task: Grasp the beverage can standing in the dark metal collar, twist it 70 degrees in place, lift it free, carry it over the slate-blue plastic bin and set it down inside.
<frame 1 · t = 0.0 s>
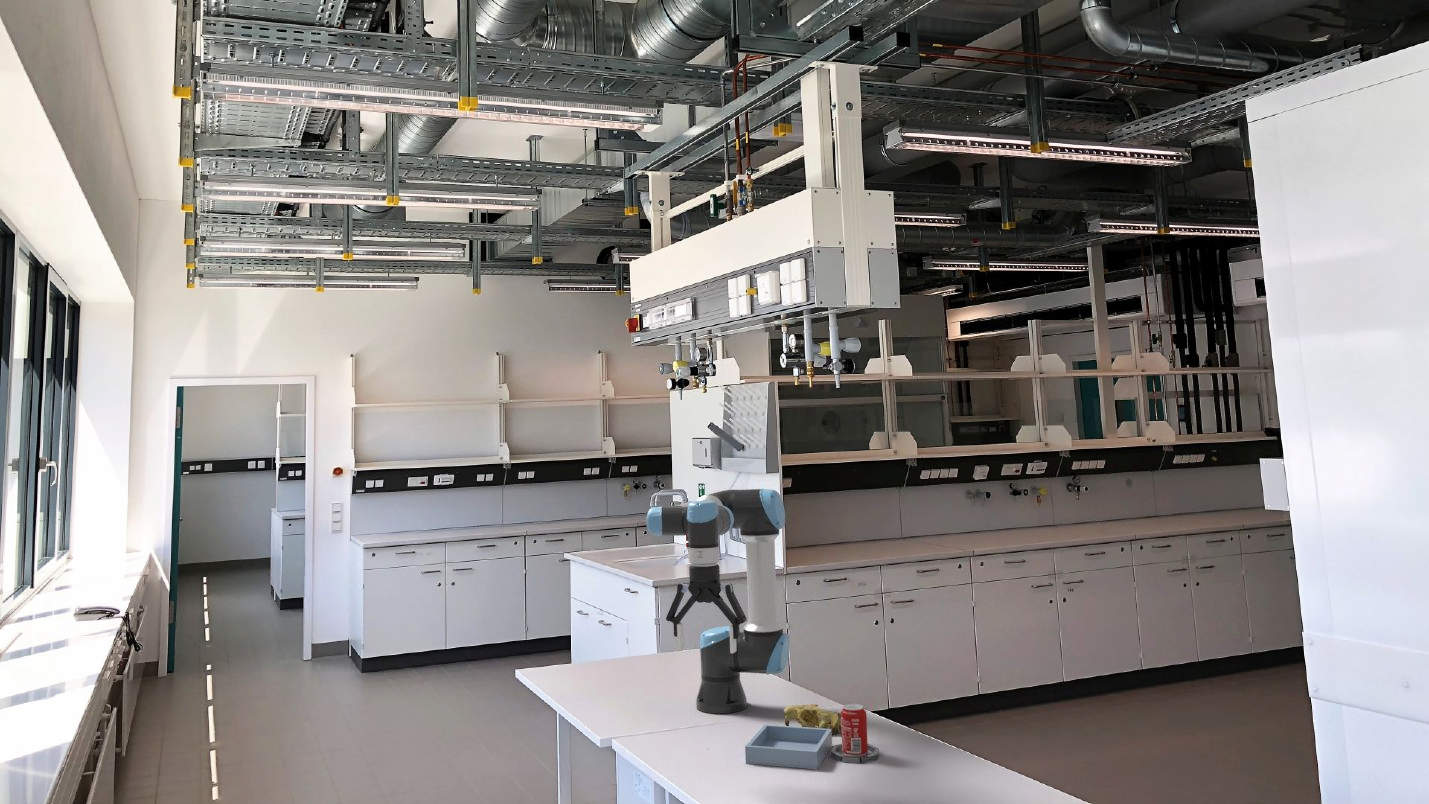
hand: (707, 651, 228), 28 cm above the worktop, fingers open, 13 cm apart
bin: (790, 754, 234), on the worktop
beverage can: (855, 755, 232), resting in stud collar
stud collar: (855, 754, 232), on the worktop
animal skull: (815, 730, 254), on the worktop
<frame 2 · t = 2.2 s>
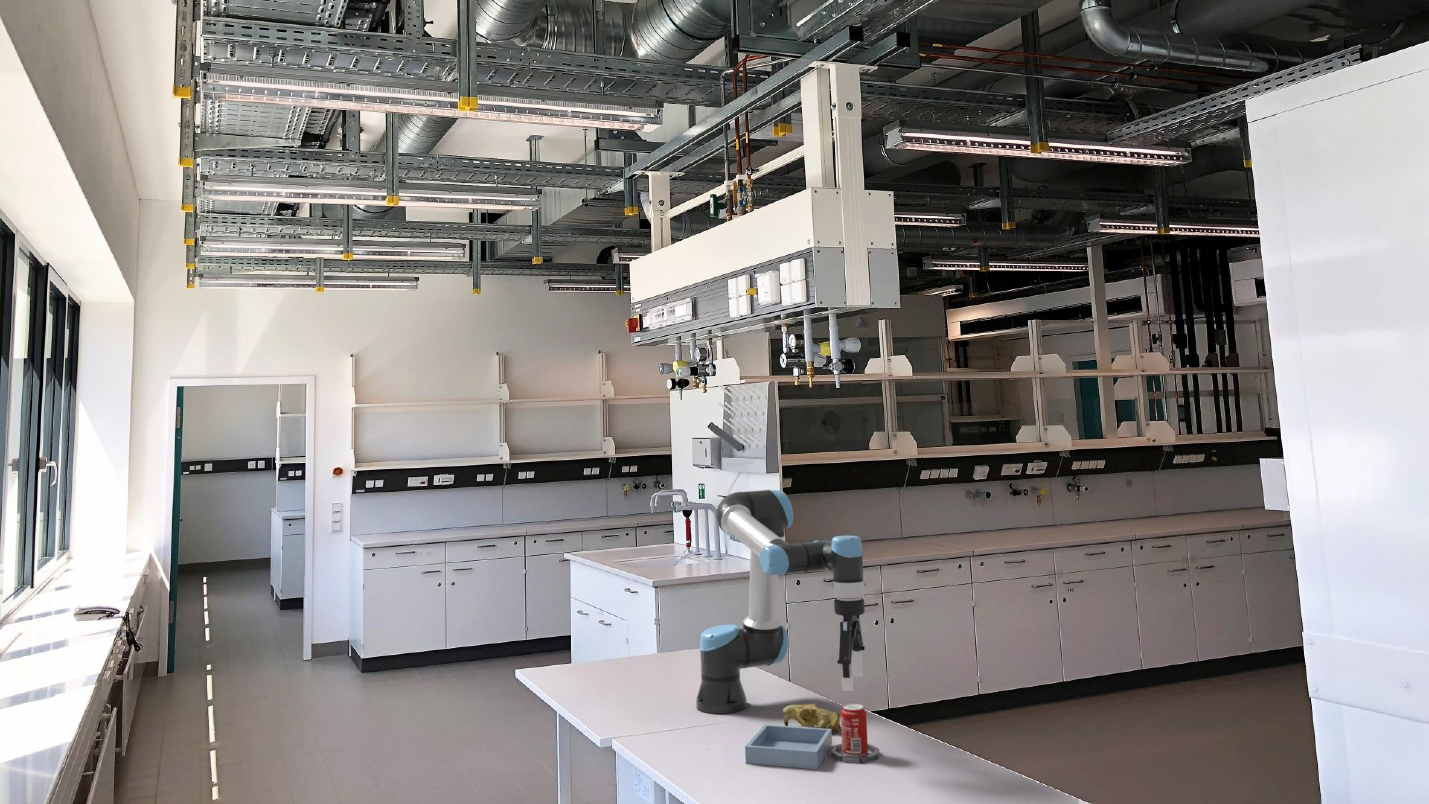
hand: (852, 683, 233), 18 cm above the worktop, fingers open, 13 cm apart
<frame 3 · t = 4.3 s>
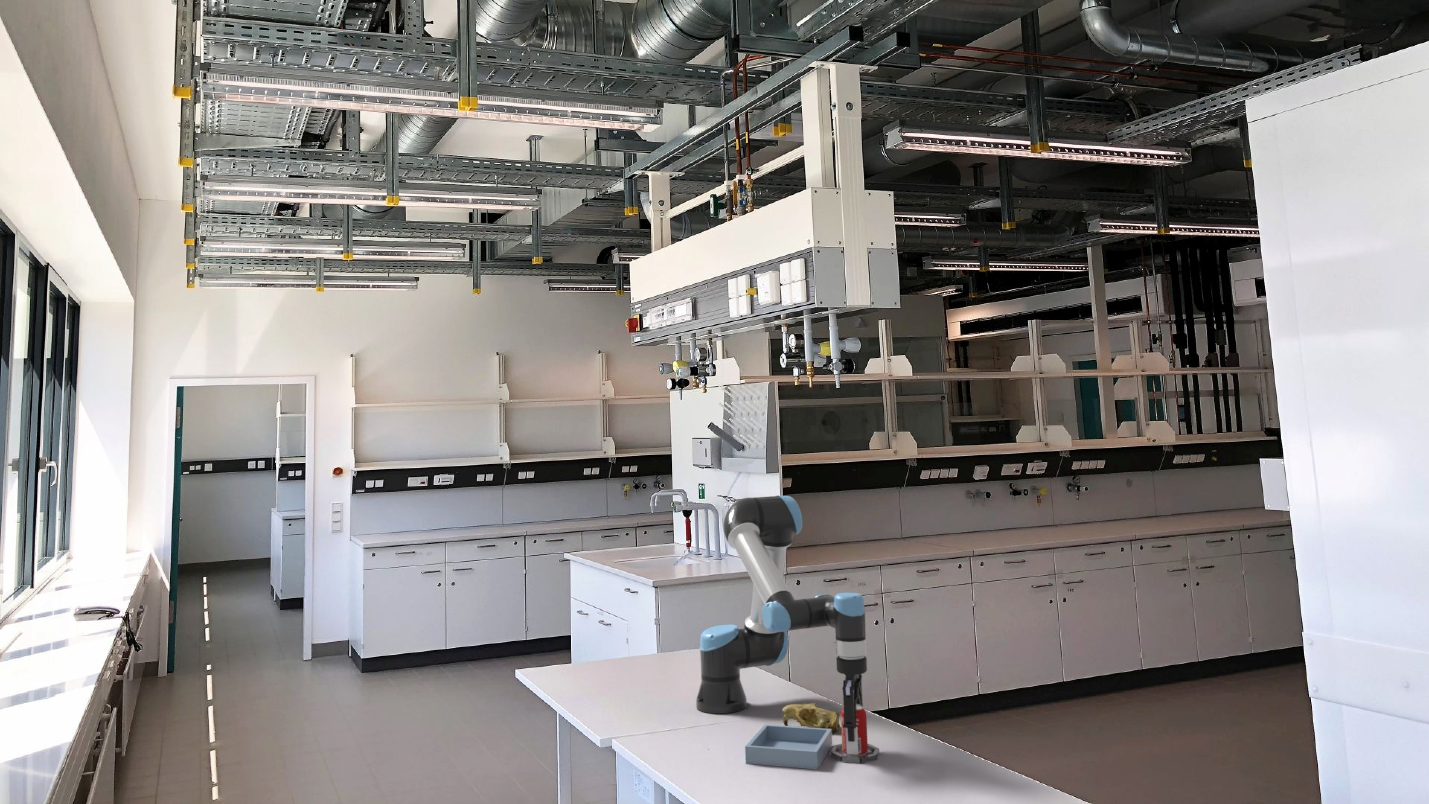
hand: (855, 749, 232), 1 cm above the worktop, fingers closed on beverage can, 6 cm apart
beverage can: (855, 755, 232), resting in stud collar, touching gripper
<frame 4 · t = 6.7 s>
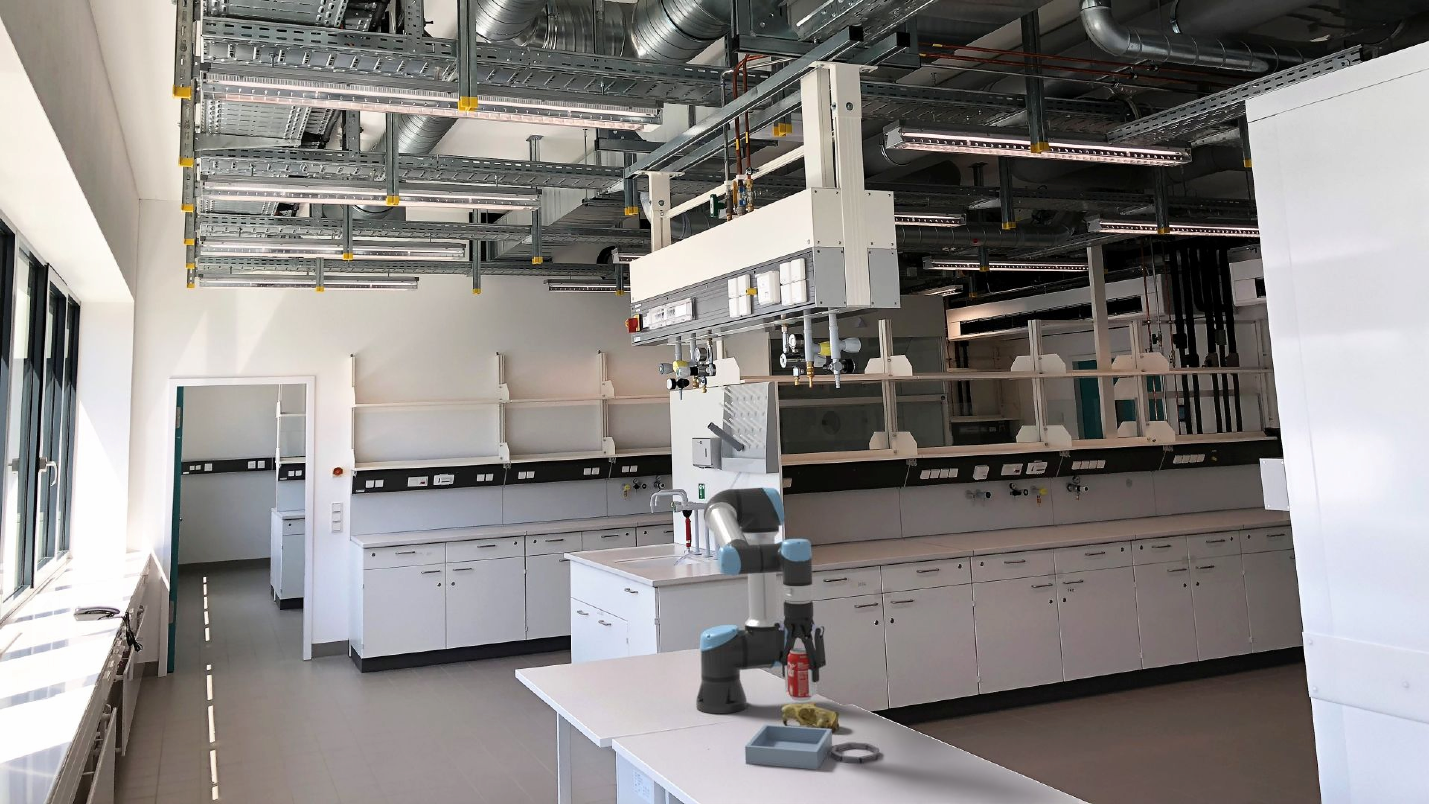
hand: (801, 692, 235), 15 cm above the worktop, fingers closed on beverage can, 6 cm apart
beverage can: (801, 698, 235), point 14 cm above the worktop, touching gripper
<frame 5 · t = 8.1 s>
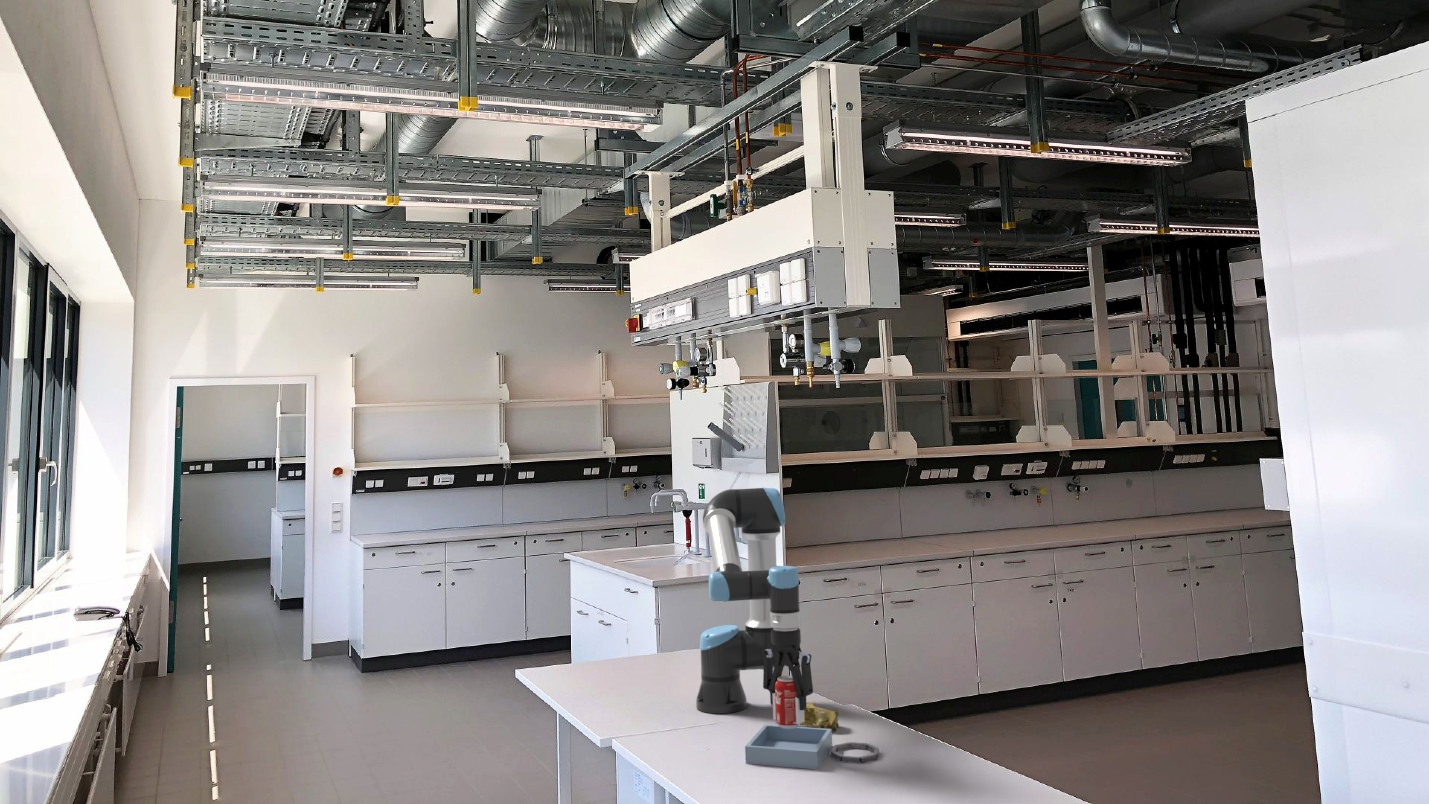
hand: (788, 720, 235), 8 cm above the worktop, fingers closed on beverage can, 6 cm apart
beverage can: (789, 726, 234), point 7 cm above the worktop, touching gripper
when the fingers open (4 cm above the worktop, at t = 9.1 s): beverage can drops 2 cm, resting on bin.
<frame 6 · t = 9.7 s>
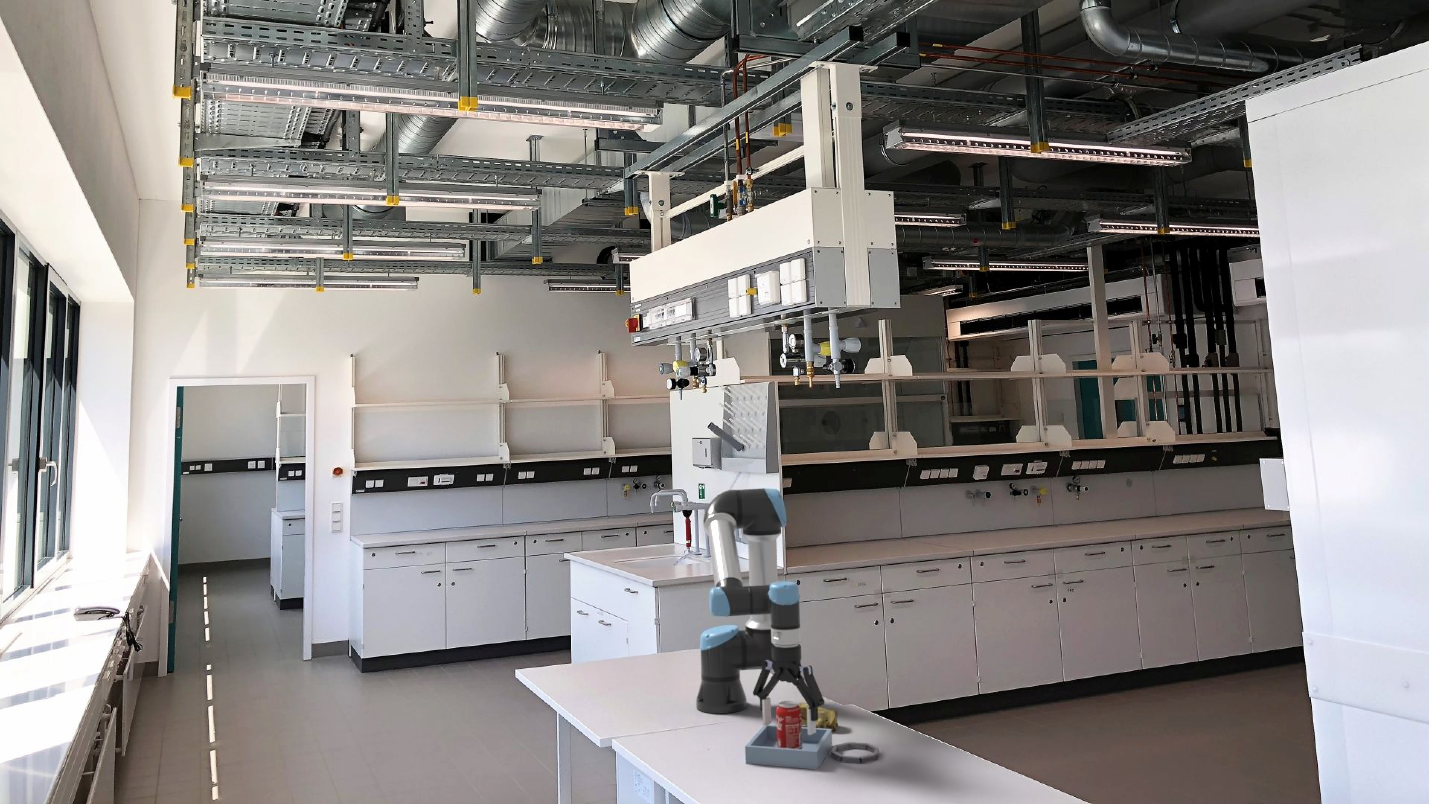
hand: (789, 729, 235), 6 cm above the worktop, fingers open, 13 cm apart
beverage can: (790, 752, 234), resting on bin
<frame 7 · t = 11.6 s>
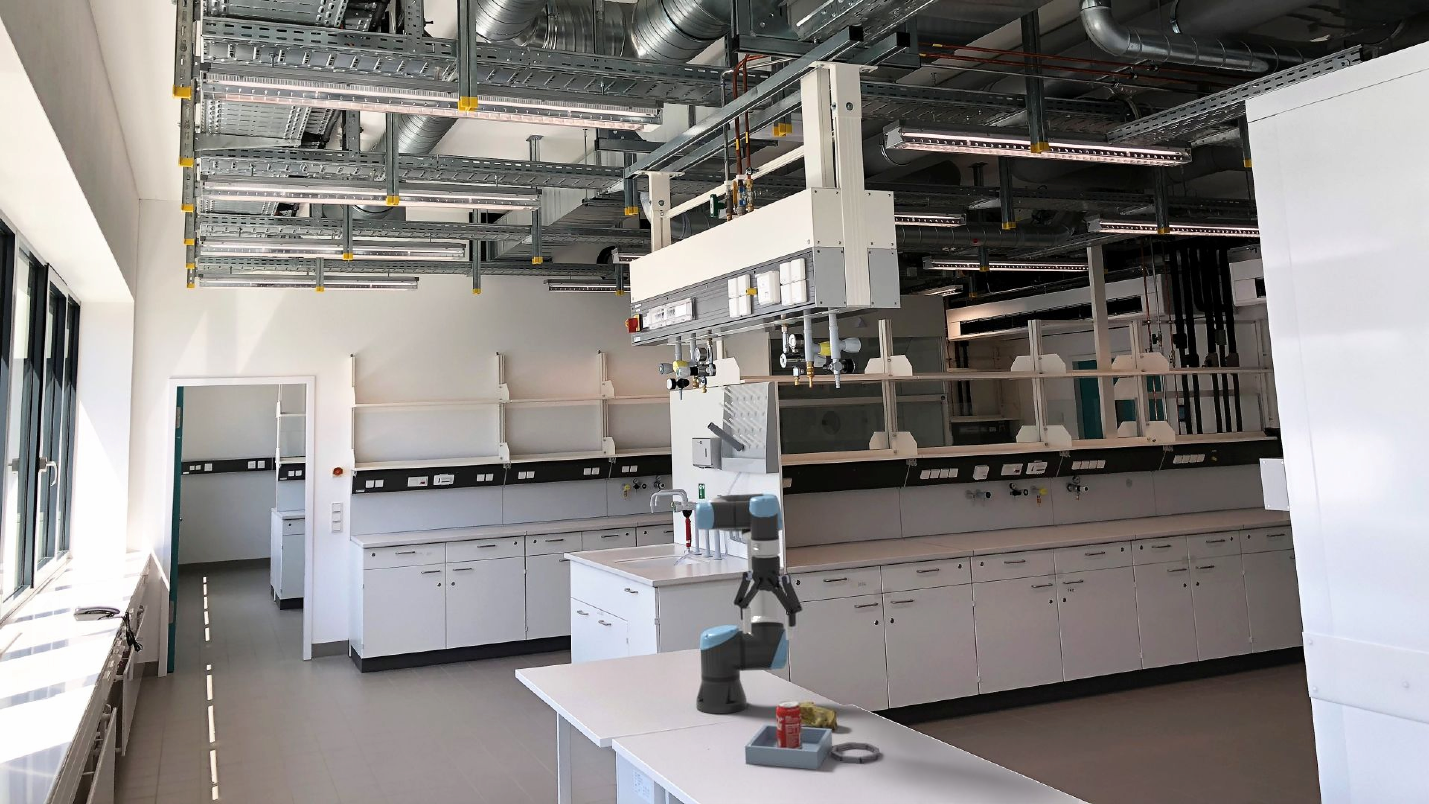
hand: (768, 635, 246), 28 cm above the worktop, fingers open, 13 cm apart
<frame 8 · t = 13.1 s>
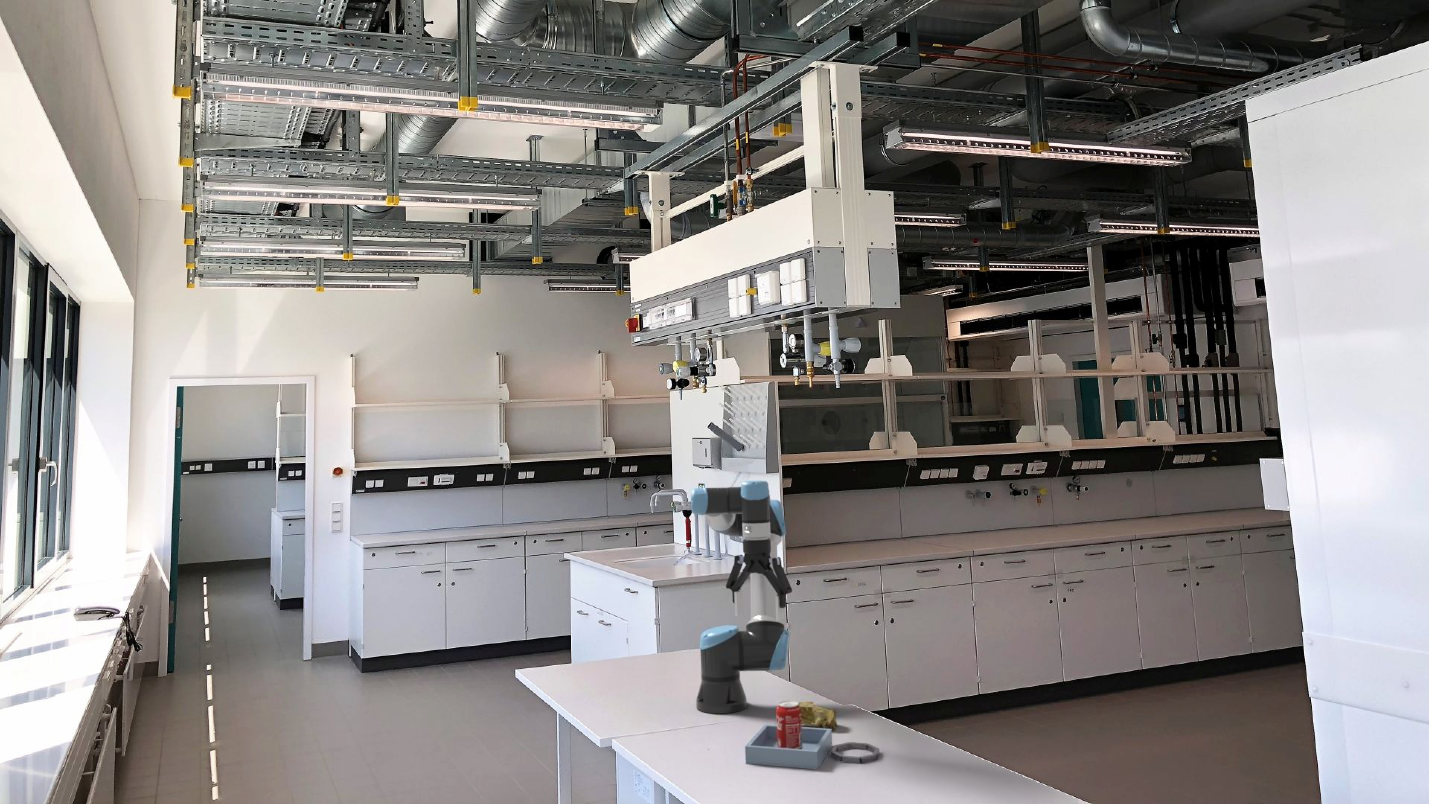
hand: (759, 617, 249), 32 cm above the worktop, fingers open, 13 cm apart
at the end: beverage can inside the target area on the bin (0.0 cm from its centre), point 0.4 cm above the bin's base; the gripper is holding nothing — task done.
